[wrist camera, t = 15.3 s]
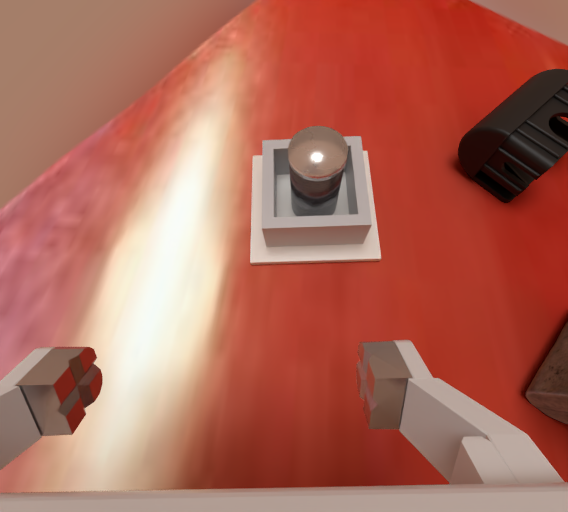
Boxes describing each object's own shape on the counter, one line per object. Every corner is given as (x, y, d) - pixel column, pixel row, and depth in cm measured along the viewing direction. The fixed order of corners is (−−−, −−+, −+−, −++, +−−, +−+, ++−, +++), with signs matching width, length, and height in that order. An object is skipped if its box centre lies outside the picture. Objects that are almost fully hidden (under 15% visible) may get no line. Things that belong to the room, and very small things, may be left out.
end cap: (503, 112, 35) (547, 54, 29) (562, 150, 33) (623, 97, 27) (444, 164, 33) (477, 114, 27) (502, 208, 31) (553, 165, 25)
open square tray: (251, 264, 30) (242, 245, 26) (253, 159, 35) (246, 128, 30) (379, 260, 30) (393, 241, 26) (366, 154, 34) (375, 122, 30)
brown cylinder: (291, 224, 31) (288, 176, 24) (290, 184, 33) (287, 127, 25) (338, 223, 31) (350, 173, 23) (335, 183, 32) (345, 124, 25)
